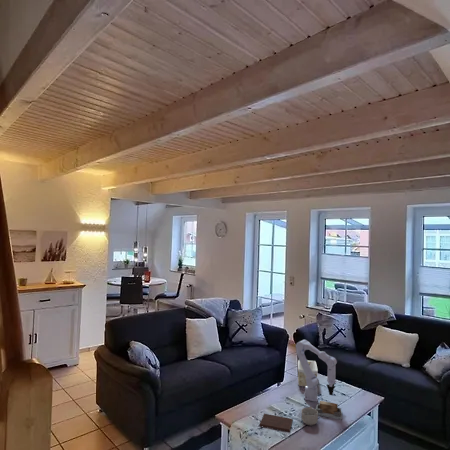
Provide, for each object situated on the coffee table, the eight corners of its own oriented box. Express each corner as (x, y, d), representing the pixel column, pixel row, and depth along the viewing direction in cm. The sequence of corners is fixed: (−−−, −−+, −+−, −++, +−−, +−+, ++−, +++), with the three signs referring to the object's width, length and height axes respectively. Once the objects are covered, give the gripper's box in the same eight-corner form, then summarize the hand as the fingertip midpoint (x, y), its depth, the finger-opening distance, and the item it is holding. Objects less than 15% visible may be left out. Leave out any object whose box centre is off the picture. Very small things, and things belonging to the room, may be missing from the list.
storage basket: (297, 375, 311) (297, 358, 311) (315, 377, 308) (316, 360, 308) (297, 386, 288) (297, 369, 288) (317, 389, 284) (318, 370, 285)
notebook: (264, 415, 242) (264, 412, 242) (292, 420, 236) (292, 418, 236) (259, 426, 228) (259, 423, 228) (289, 432, 222) (289, 429, 222)
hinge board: (314, 414, 244) (314, 409, 244) (316, 407, 253) (316, 402, 254) (341, 419, 238) (341, 414, 238) (342, 412, 247) (342, 407, 247)
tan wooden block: (319, 411, 246) (319, 403, 246) (320, 409, 250) (320, 400, 250) (337, 415, 242) (337, 406, 242) (337, 412, 245) (337, 403, 246)
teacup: (314, 429, 226) (315, 416, 226) (298, 424, 231) (299, 412, 232) (321, 419, 237) (321, 407, 238) (305, 415, 243) (305, 403, 243)
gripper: (336, 378, 250) (336, 397, 249) (337, 371, 263) (337, 389, 263) (326, 377, 252) (326, 396, 252) (327, 370, 266) (327, 387, 266)
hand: (331, 392), depth 258 cm, fingers open, 7 cm apart
